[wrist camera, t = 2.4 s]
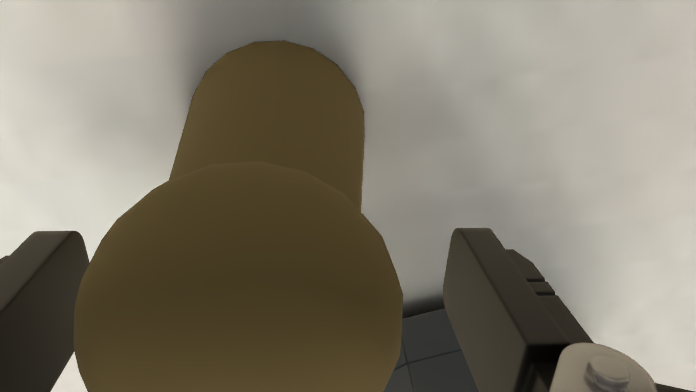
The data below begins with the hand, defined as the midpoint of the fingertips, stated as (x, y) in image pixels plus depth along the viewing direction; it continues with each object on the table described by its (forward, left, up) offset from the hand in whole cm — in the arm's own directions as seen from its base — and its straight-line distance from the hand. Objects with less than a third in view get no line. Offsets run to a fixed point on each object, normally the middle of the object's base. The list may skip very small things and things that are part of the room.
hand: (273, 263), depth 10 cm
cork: (-1, 0, -7) cm, 7 cm away
